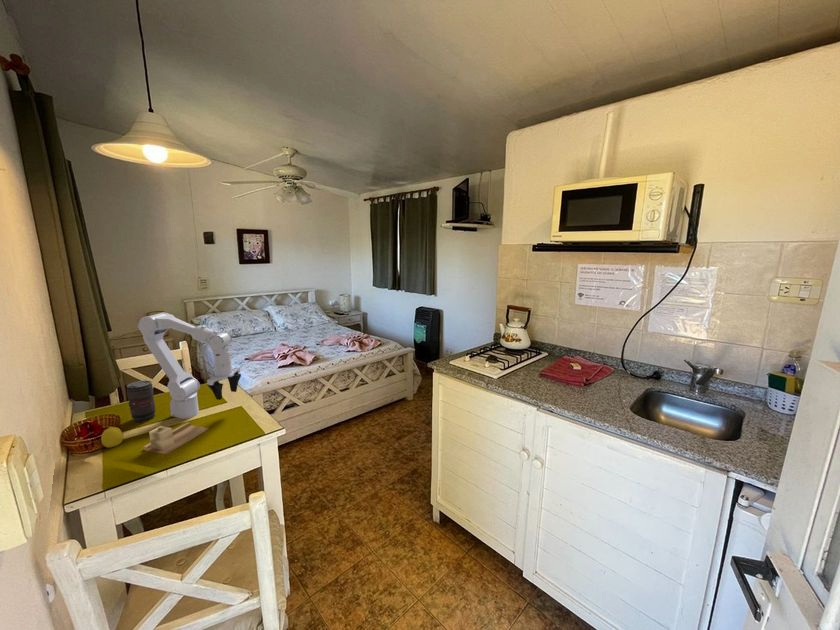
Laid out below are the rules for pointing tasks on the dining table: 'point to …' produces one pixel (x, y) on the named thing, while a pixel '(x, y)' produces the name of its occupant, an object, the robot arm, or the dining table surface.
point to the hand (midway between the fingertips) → (226, 395)
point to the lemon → (111, 437)
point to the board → (179, 437)
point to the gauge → (161, 438)
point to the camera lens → (141, 400)
